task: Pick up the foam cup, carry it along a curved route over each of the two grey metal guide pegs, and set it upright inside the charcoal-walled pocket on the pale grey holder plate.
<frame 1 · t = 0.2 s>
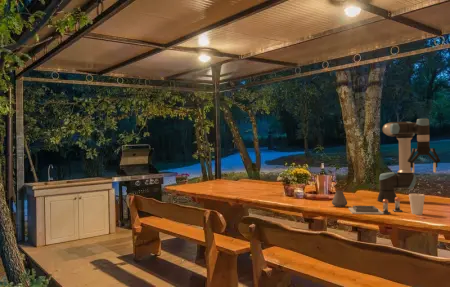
hand: (423, 172, 256), 27 cm above the table, tool pointing down, fingers open, 13 cm apart
foam cup: (417, 214, 251), on the table
coffee pot: (342, 205, 291), on the table
guide pegs: (391, 212, 258), on the table
holder: (365, 211, 263), on the table
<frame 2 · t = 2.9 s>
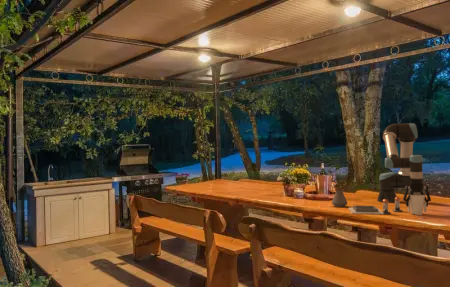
hand: (417, 211, 251), 2 cm above the table, tool pointing down, fingers closed on foam cup, 9 cm apart
foam cup: (417, 214, 251), on the table, touching gripper
everything else where it was.
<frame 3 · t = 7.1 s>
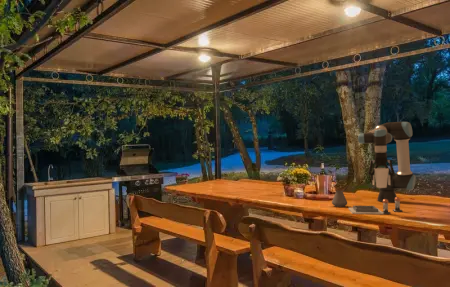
hand: (381, 184, 256), 19 cm above the table, tool pointing down, fingers closed on foam cup, 9 cm apart
foam cup: (381, 187, 256), point 18 cm above the table, touching gripper
everything else where it was.
when the fingers open (4 cm above the table, at t = 11.1 s): foam cup drops 1 cm, resting on holder.
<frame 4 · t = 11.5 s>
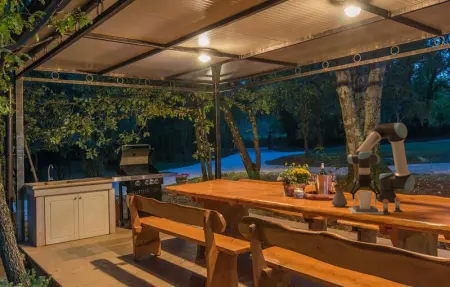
hand: (365, 204, 263), 5 cm above the table, tool pointing down, fingers open, 13 cm apart
foam cup: (365, 210, 263), point 1 cm above the table, touching holder
everything else where it was.
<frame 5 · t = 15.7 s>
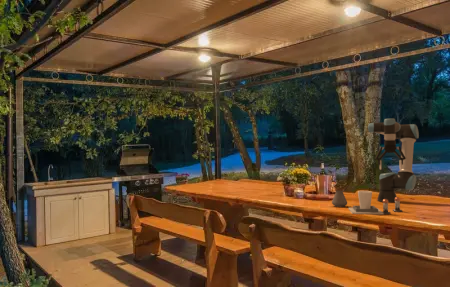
hand: (390, 169, 271), 29 cm above the table, tool pointing down, fingers open, 13 cm apart
nothing on the table moved.
at the end: foam cup 0.0 cm off-centre on the holder, point 0.8 cm above the holder's base; foam cup tilted 0°; the gripper is holding nothing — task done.
